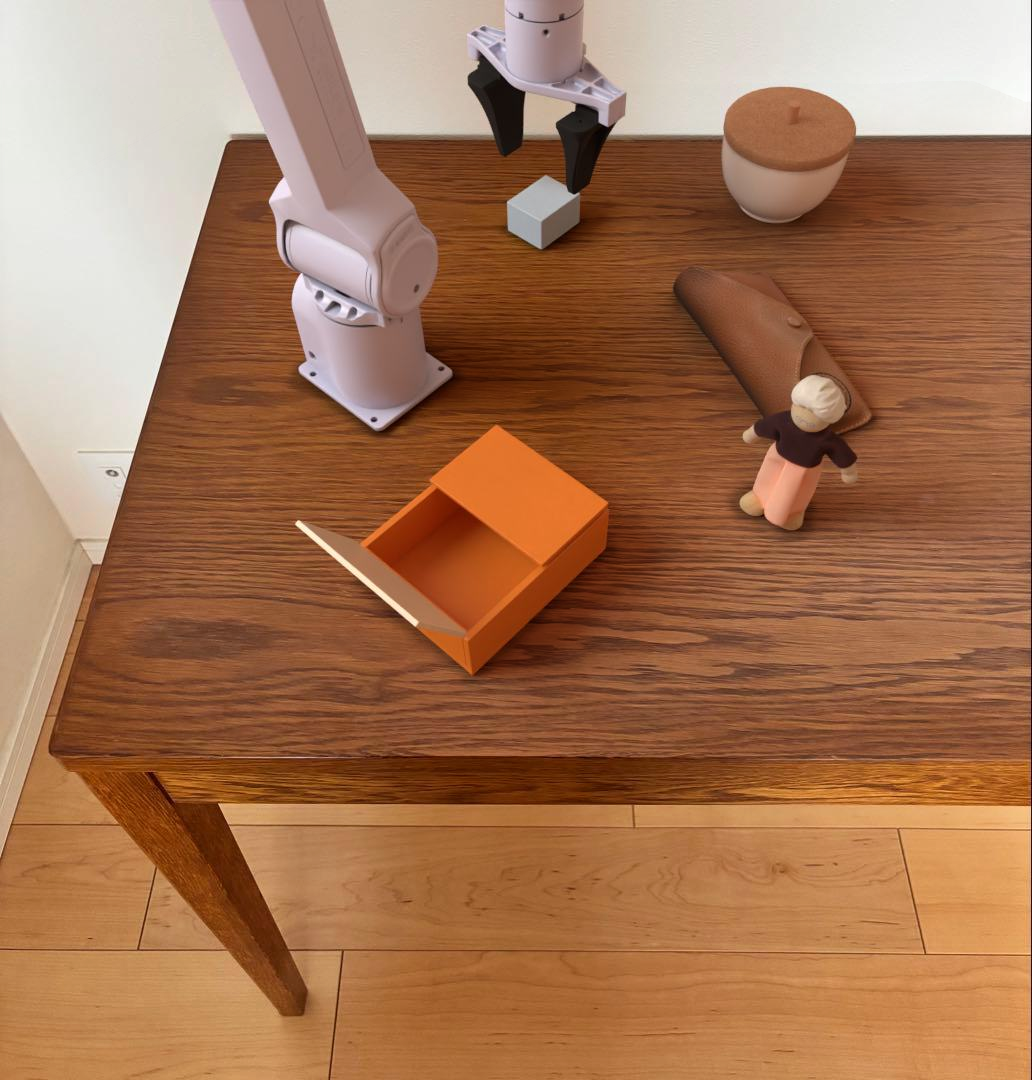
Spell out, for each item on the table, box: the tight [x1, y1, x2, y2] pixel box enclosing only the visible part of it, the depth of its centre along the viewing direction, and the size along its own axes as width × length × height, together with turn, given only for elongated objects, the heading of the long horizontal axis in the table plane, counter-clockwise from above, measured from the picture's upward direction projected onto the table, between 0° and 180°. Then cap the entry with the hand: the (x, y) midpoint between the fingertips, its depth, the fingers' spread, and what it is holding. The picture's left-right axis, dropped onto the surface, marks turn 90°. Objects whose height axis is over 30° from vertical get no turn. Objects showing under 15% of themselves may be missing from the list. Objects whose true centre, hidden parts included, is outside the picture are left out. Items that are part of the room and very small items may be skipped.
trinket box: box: [720, 86, 857, 224], centre depth 84 cm, size 11×11×9 cm
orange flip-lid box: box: [359, 424, 610, 676], centre depth 64 cm, size 13×10×5 cm
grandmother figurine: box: [739, 375, 859, 531], centre depth 63 cm, size 8×4×13 cm, turn 70°
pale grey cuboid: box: [506, 174, 581, 251], centre depth 85 cm, size 5×4×3 cm
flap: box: [294, 519, 467, 638], centre depth 57 cm, size 6×10×1 cm
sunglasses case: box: [672, 265, 874, 436], centre depth 75 cm, size 18×7×7 cm
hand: (544, 168), depth 82 cm, fingers open, 7 cm apart
